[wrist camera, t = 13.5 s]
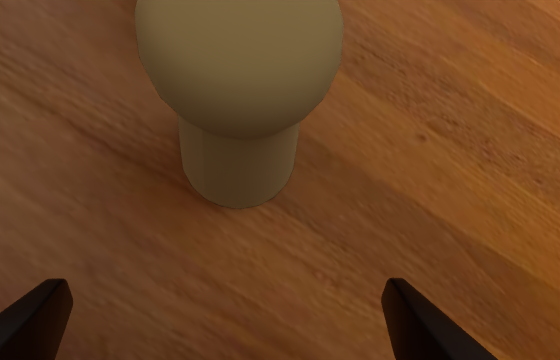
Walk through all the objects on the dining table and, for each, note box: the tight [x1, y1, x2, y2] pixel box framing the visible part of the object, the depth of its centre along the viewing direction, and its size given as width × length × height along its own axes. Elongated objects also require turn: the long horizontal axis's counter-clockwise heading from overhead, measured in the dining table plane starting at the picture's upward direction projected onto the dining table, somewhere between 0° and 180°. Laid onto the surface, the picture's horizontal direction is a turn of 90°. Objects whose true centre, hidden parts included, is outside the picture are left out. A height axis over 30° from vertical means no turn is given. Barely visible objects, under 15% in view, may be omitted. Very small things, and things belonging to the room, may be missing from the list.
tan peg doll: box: [135, 0, 344, 209], centre depth 12 cm, size 6×6×11 cm
